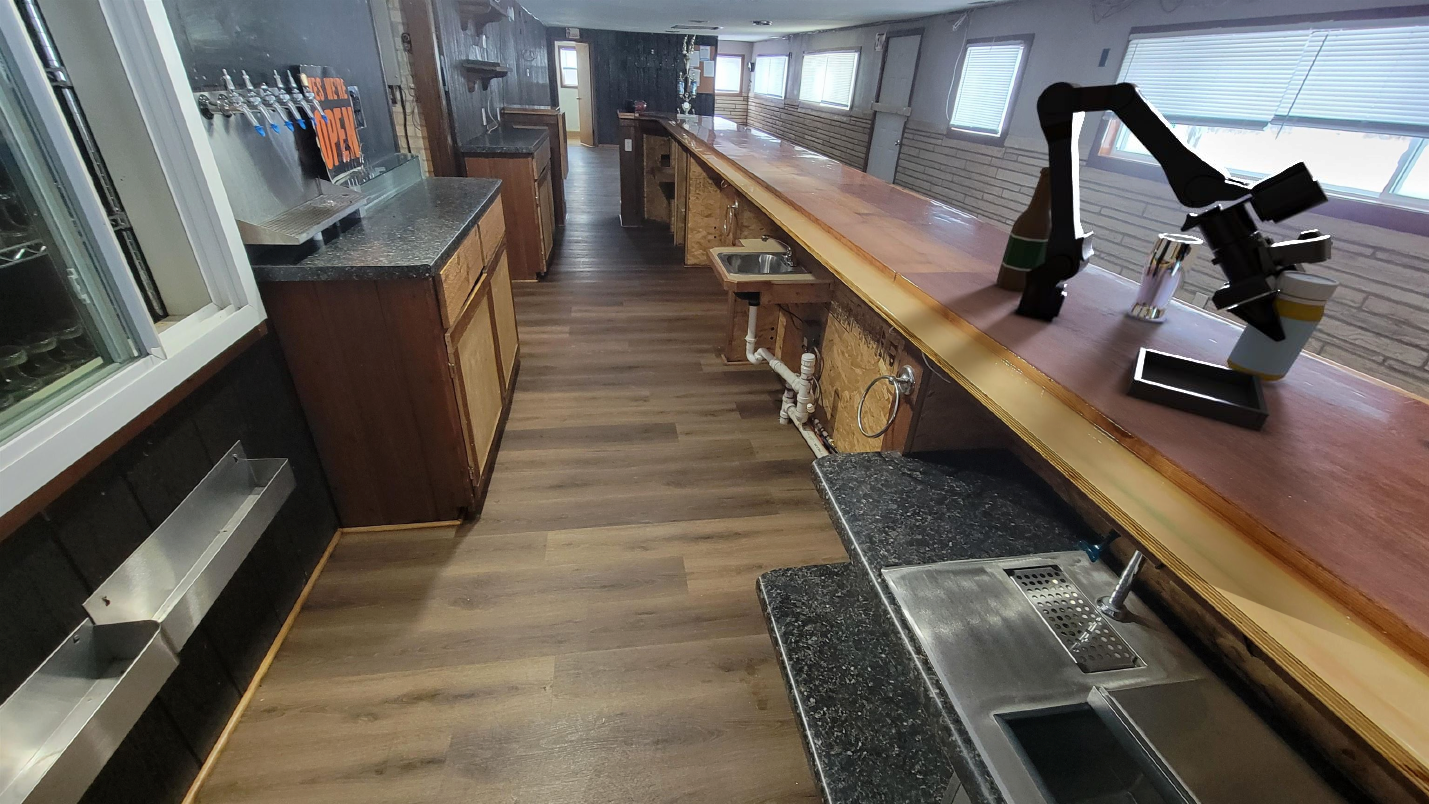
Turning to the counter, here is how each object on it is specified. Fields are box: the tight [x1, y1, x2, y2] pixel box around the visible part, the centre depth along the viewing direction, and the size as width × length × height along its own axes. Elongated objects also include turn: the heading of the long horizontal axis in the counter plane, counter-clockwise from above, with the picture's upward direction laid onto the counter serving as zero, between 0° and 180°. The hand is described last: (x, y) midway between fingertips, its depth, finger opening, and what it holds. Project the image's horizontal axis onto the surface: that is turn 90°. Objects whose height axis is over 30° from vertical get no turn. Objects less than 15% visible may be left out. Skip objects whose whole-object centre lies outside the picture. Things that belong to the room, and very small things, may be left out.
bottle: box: [1226, 271, 1340, 382], centre depth 83 cm, size 7×7×15 cm
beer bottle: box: [996, 166, 1051, 293], centre depth 116 cm, size 8×8×24 cm
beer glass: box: [1126, 233, 1204, 323], centre depth 105 cm, size 7×7×15 cm
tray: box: [1126, 346, 1270, 432], centre depth 80 cm, size 15×15×2 cm
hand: (1288, 335), depth 82 cm, fingers closed on bottle, 6 cm apart
